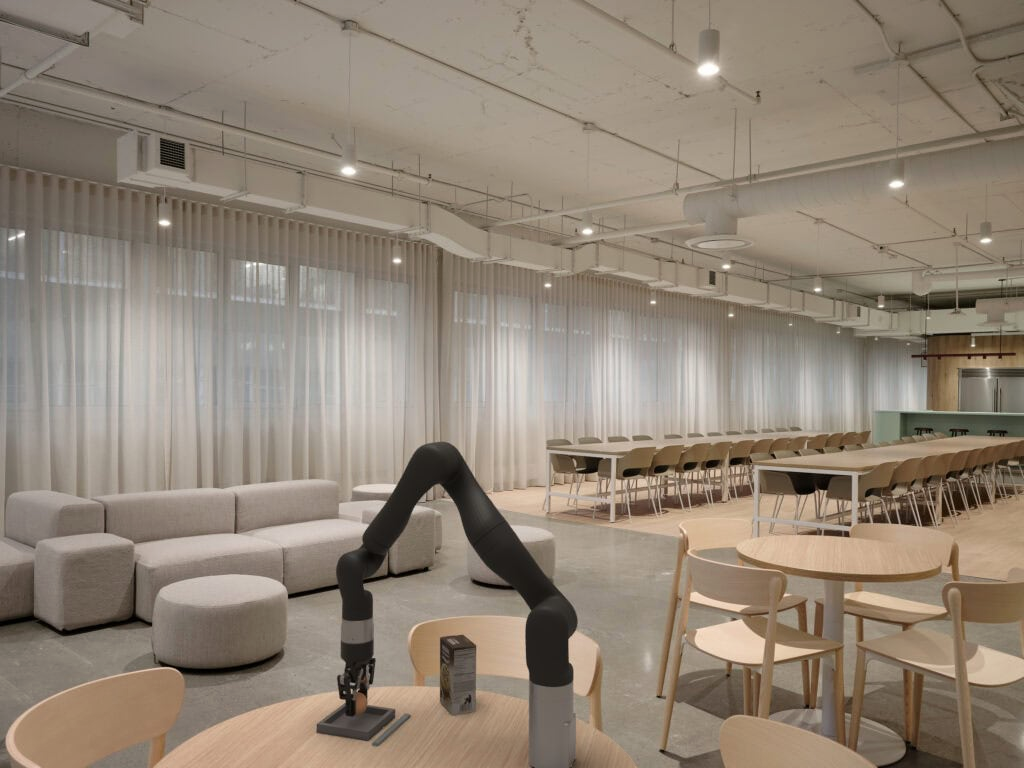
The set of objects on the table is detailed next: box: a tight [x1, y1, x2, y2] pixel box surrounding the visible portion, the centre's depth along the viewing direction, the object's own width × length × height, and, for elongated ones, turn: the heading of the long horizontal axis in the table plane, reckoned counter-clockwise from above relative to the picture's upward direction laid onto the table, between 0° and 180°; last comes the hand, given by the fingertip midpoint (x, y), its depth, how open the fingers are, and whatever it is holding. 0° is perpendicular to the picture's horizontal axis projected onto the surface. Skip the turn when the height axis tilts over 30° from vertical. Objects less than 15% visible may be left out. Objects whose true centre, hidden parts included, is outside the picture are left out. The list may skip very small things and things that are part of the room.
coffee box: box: [439, 634, 477, 716], centre depth 188 cm, size 9×6×16 cm
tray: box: [316, 702, 396, 742], centre depth 177 cm, size 13×13×2 cm
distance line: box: [371, 713, 411, 747], centre depth 174 cm, size 2×16×1 cm, turn 162°
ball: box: [354, 691, 369, 716], centre depth 177 cm, size 5×5×5 cm
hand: (356, 710), depth 177 cm, fingers closed on ball, 5 cm apart
